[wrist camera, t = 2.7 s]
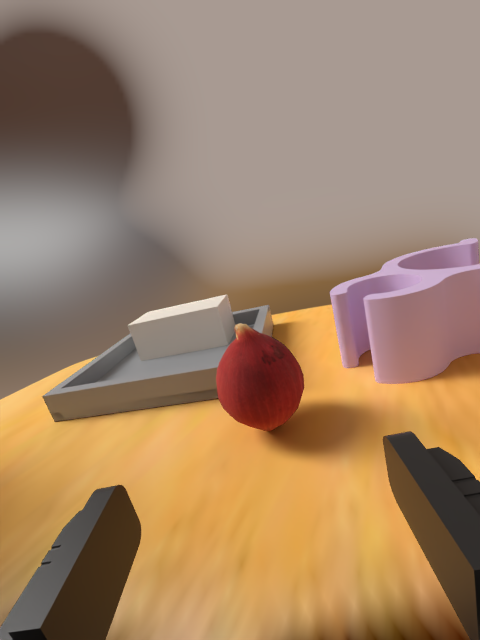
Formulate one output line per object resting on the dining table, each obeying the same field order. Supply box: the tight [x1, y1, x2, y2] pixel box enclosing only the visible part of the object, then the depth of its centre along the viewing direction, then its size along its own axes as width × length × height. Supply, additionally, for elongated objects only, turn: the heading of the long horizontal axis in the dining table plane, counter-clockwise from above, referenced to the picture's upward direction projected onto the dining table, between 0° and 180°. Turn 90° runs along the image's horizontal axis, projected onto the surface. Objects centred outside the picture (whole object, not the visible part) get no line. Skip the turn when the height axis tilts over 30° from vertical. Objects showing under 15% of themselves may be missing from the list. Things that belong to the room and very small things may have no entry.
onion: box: [216, 323, 304, 431], centre depth 21 cm, size 6×6×8 cm
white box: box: [128, 295, 235, 361], centre depth 41 cm, size 12×6×5 cm, turn 81°
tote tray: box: [42, 305, 273, 422], centre depth 37 cm, size 22×18×3 cm
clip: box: [330, 238, 480, 384], centre depth 28 cm, size 20×12×7 cm, turn 113°
